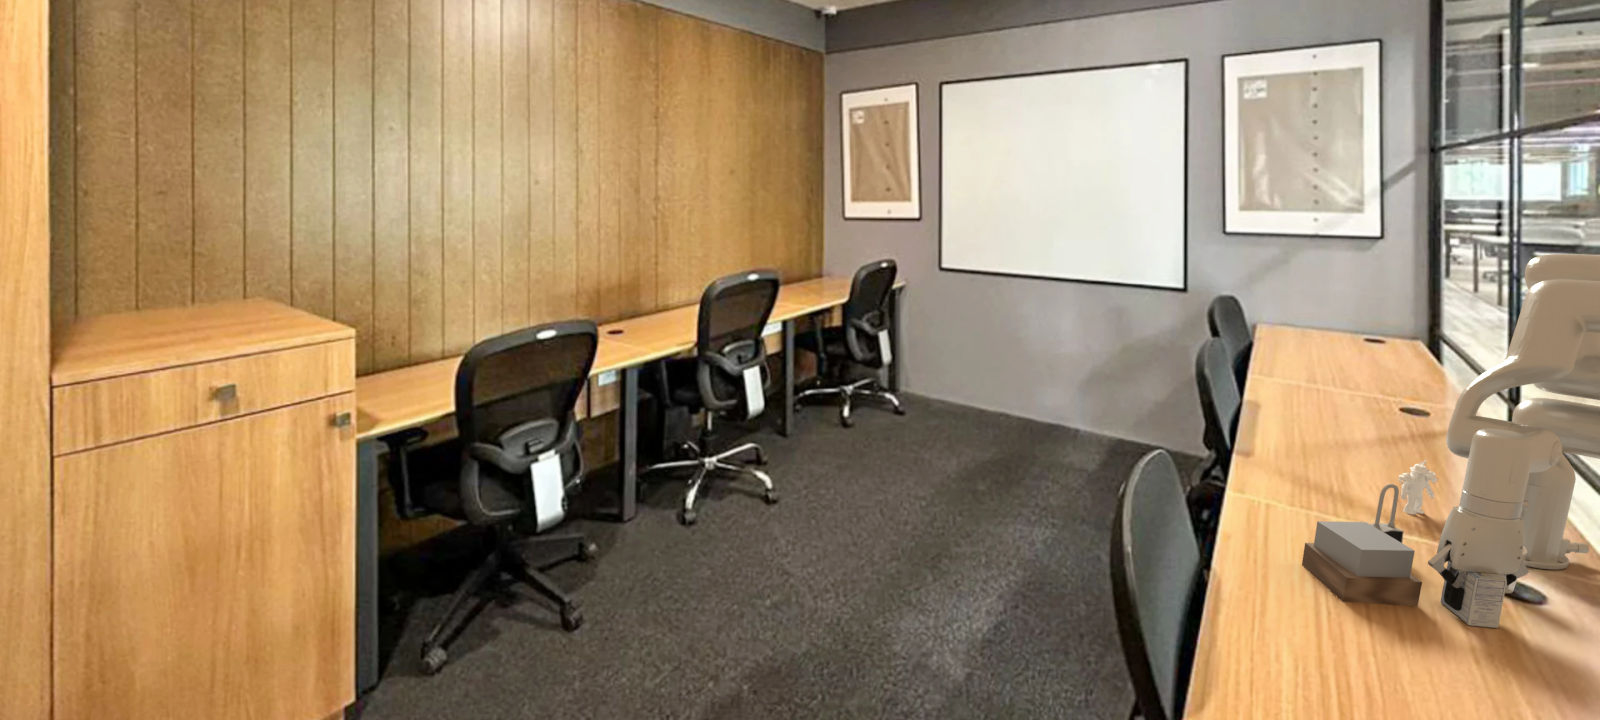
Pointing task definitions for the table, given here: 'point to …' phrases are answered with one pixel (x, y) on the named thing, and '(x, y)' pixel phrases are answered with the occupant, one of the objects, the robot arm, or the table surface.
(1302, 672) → the table surface
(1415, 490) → the blocky character figurine
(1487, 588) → the medicine box
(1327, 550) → the upper block
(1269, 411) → the table surface
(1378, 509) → the padlock
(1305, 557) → the lower block
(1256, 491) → the table surface
